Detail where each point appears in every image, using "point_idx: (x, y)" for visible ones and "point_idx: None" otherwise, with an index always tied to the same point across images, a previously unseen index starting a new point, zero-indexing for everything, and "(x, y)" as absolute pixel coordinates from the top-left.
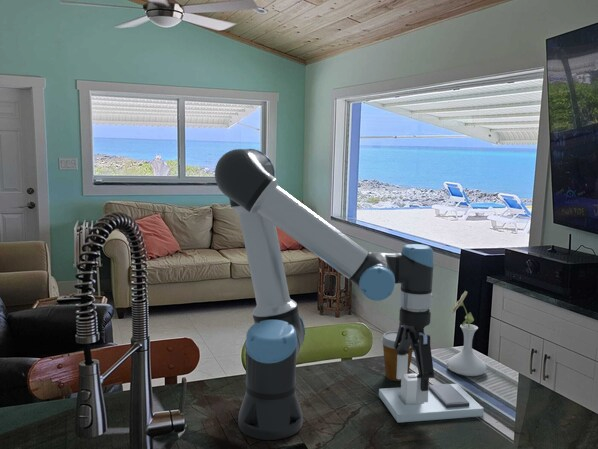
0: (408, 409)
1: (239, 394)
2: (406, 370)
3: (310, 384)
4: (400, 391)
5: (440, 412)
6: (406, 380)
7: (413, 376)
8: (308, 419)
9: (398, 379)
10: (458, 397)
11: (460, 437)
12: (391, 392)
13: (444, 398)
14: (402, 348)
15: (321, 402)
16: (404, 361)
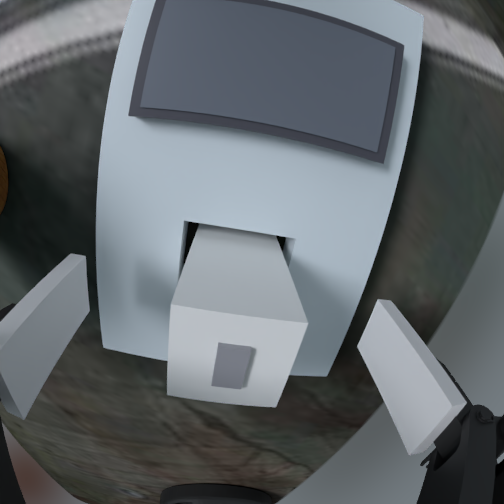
0: (311, 332)
1: (109, 493)
2: (61, 289)
3: (53, 425)
4: (137, 282)
5: (386, 211)
6: (262, 404)
7: (236, 362)
8: (218, 477)
9: (3, 193)
10: (342, 47)
11: (473, 216)
12: (141, 323)
13: (327, 128)
14: (7, 469)
15: (144, 448)
16: (29, 346)
